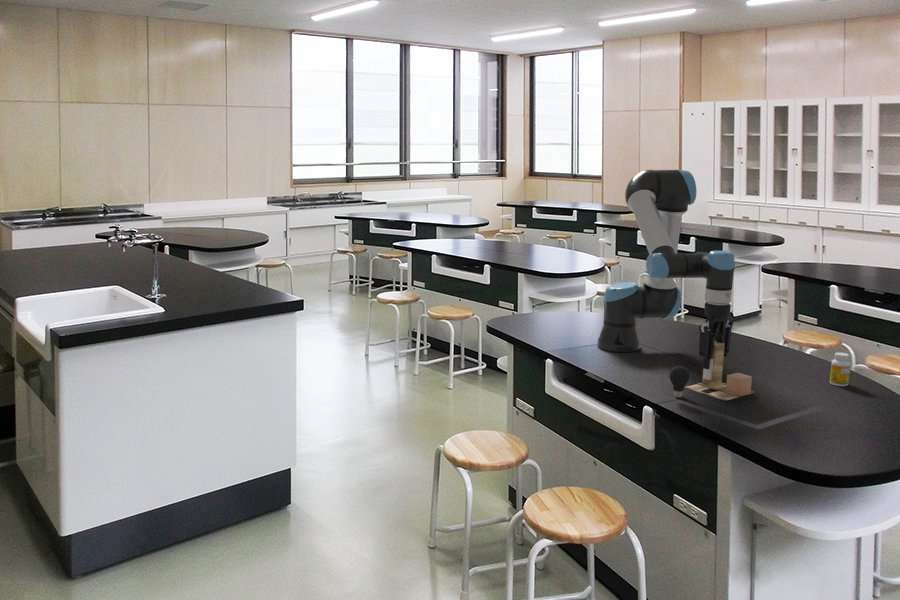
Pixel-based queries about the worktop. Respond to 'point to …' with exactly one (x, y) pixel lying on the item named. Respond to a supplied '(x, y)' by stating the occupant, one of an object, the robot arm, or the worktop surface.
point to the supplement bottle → (840, 370)
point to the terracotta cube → (739, 384)
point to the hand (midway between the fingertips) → (712, 377)
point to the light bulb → (679, 379)
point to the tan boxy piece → (717, 368)
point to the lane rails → (715, 389)
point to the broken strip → (717, 393)
